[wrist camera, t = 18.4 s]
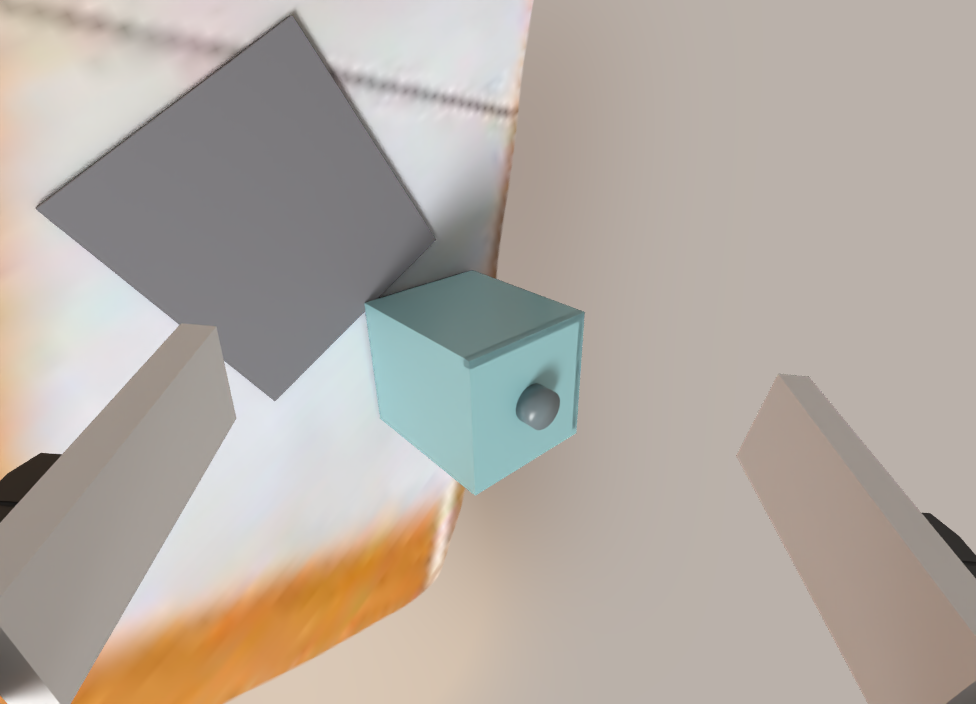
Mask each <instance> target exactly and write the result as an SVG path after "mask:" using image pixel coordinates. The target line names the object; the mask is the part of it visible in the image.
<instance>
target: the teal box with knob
mask: <svg viewBox="0 0 976 704" xmlns="http://www.w3.org/2000/svg"><path fill="white" fill-rule="evenodd" d="M364 304H365V311H366V318H367V325H368V333H369V340H370V347H371V354H372V361H373V369H374V376H375V383H376V390H377V397H378V404H379V412H380V419H382V420H383V421H384V422H385V423H386V424H388V425H389V426H390V427H391V428H393V429H394V430H395V431H396V432H398V433H399V434H400V435H401V436H402V437H404V438H405V439H406V440H407V441H409V442H410V443H411V444H412V445H413V446H415V447H416V448H417V449H418V450H420V451H421V452H422V453H423V454H425V455H426V456H427V457H428V458H429V459H431V460H432V461H433V462H434V463H436V464H437V465H438V466H439V467H441V468H442V469H443V470H444V471H445V472H447V473H448V474H449V475H450V476H452V477H453V478H454V479H455V480H456V481H458V482H459V483H460V484H461V485H463V486H464V487H465V488H466V489H468V490H469V491H470V492H471V493H473V494H474V495H477V494H478V493H480V492H482V491H483V490H485V489H486V488H488V487H490V486H491V485H493V484H495V483H496V482H498V481H500V480H501V479H503V478H504V477H506V476H508V475H509V474H511V473H512V472H514V471H516V470H517V469H519V468H521V467H522V466H524V465H525V464H527V463H529V462H530V461H532V460H533V459H535V458H537V457H538V456H540V455H541V454H543V453H545V452H546V451H548V450H549V449H551V448H553V447H554V446H556V445H558V444H559V443H561V442H562V441H564V440H566V439H567V438H569V437H570V436H572V435H574V434H575V433H576V428H577V414H578V399H579V385H580V371H581V356H582V342H583V328H584V314H585V312H583V311H581V310H578V309H575V308H572V307H570V306H567V305H564V304H562V303H559V302H556V301H554V300H551V299H548V298H546V297H543V296H540V295H538V294H535V293H532V292H529V291H527V290H524V289H522V288H519V287H516V286H513V285H511V284H508V283H505V282H503V281H500V280H497V279H495V278H492V277H489V276H487V275H484V274H481V273H479V272H476V271H473V270H471V271H468V272H465V273H461V274H458V275H455V276H451V277H448V278H445V279H442V280H438V281H435V282H432V283H428V284H425V285H422V286H418V287H415V288H412V289H409V290H405V291H402V292H399V293H395V294H392V295H389V296H385V297H382V298H379V299H376V300H372V301H369V302H366V303H364Z"/></svg>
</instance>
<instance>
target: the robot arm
mask: <svg viewBox="0 0 976 704" xmlns="http://www.w3.org/2000/svg"><path fill="white" fill-rule="evenodd" d="M235 420H236V415H235V410H234V406H233V401H232V397H231V392H230V387H229V383H228V378H227V374H226V369H225V364H224V360H223V355H222V350H221V346H220V341H219V337H218V332H217V327H216V326H207V325H195V324H183V323H181V324H180V325H179V326H178V327H177V329H176V330H175V331H174V332H173V333H172V334H171V335H170V336H169V337H168V338H167V340H166V341H165V342H164V343H163V344H162V345H161V346H160V347H159V348H158V349H157V351H156V352H155V353H154V354H153V355H152V356H151V357H150V358H149V359H148V361H147V362H146V363H145V364H144V365H143V366H142V367H141V368H140V369H139V370H138V372H137V373H136V374H135V375H134V376H133V377H132V378H131V379H130V380H129V381H128V383H127V384H126V385H125V386H124V387H123V388H122V389H121V390H120V391H119V392H118V394H117V395H116V396H115V397H114V398H113V399H112V400H111V401H110V402H109V403H108V405H107V406H106V407H105V408H104V409H103V410H102V411H101V412H100V413H99V414H98V416H97V417H96V418H95V419H94V420H93V421H92V422H91V423H90V424H89V426H88V427H87V428H86V429H85V430H84V431H83V432H82V433H81V434H80V435H79V437H78V438H77V439H76V440H75V441H74V442H73V443H72V444H71V445H70V446H69V448H68V449H67V450H66V451H65V452H64V453H63V454H48V453H40V454H38V455H37V456H35V457H33V458H32V459H30V460H29V461H27V462H25V463H24V464H22V465H21V466H19V467H17V468H16V469H14V470H13V471H11V472H9V473H8V474H7V475H6V476H5V477H4V478H3V479H2V480H1V481H0V695H1V697H2V698H3V699H4V700H5V701H6V702H7V703H8V704H71V702H72V700H73V699H74V697H75V695H76V693H77V692H78V690H79V688H80V687H81V685H82V683H83V681H84V680H85V678H86V676H87V675H88V673H89V671H90V669H91V668H92V666H93V664H94V662H95V661H96V659H97V657H98V656H99V654H100V652H101V650H102V649H103V647H104V645H105V644H106V642H107V640H108V638H109V637H110V635H111V633H112V631H113V630H114V628H115V626H116V625H117V623H118V621H119V619H120V618H121V616H122V614H123V613H124V611H125V609H126V607H127V606H128V604H129V602H130V600H131V599H132V597H133V595H134V594H135V592H136V590H137V588H138V587H139V585H140V583H141V582H142V580H143V578H144V576H145V575H146V573H147V571H148V569H149V568H150V566H151V564H152V563H153V561H154V559H155V557H156V556H157V554H158V552H159V551H160V549H161V547H162V545H163V544H164V542H165V540H166V538H167V537H168V535H169V533H170V532H171V530H172V528H173V526H174V525H175V523H176V521H177V520H178V518H179V516H180V514H181V513H182V511H183V509H184V507H185V506H186V504H187V502H188V501H189V499H190V497H191V495H192V494H193V492H194V490H195V489H196V487H197V485H198V483H199V482H200V480H201V478H202V476H203V475H204V473H205V471H206V470H207V468H208V466H209V464H210V463H211V461H212V459H213V457H214V456H215V454H216V452H217V451H218V449H219V447H220V445H221V444H222V442H223V440H224V439H225V437H226V435H227V433H228V432H229V430H230V428H231V426H232V425H233V423H234V421H235ZM736 456H737V458H738V460H739V462H740V464H741V466H742V468H743V469H744V471H745V473H746V475H747V477H748V479H749V481H750V483H751V485H752V487H753V488H754V490H755V492H756V494H757V496H758V498H759V500H760V502H761V503H762V505H763V507H764V509H765V511H766V513H767V515H768V516H769V519H770V520H771V522H772V524H773V526H774V528H775V530H776V532H777V534H778V535H779V537H780V539H781V541H782V543H783V544H784V547H785V549H786V551H787V552H788V554H789V556H790V558H791V560H792V561H793V564H794V566H795V567H796V569H797V571H798V573H799V575H800V577H801V579H802V581H803V582H804V584H805V586H806V588H807V590H808V592H809V594H810V595H811V597H812V599H813V601H814V603H815V605H816V607H817V609H818V611H819V613H820V614H821V616H822V618H823V620H824V622H825V624H826V626H827V628H828V630H829V631H830V633H831V635H832V637H833V639H834V641H835V643H836V645H837V647H838V648H839V650H840V652H841V654H842V656H843V658H844V660H845V662H846V663H847V665H848V667H849V669H850V671H851V673H852V675H853V676H854V678H855V680H856V682H857V684H858V686H859V688H860V690H861V692H862V694H863V695H864V697H865V699H866V701H867V703H868V704H976V555H975V554H974V553H973V552H972V550H971V549H970V548H969V547H968V546H967V545H966V544H965V542H964V541H963V540H962V539H961V538H960V537H959V536H958V535H957V534H956V533H954V532H953V531H952V530H951V529H949V528H948V527H947V526H946V525H944V524H943V523H942V522H940V521H939V520H938V519H937V518H936V517H934V516H933V515H932V514H930V513H921V512H920V511H919V509H918V508H917V507H916V506H915V505H914V503H913V502H912V501H911V500H910V499H909V497H908V496H907V495H906V494H905V493H904V491H903V490H902V489H901V488H900V486H899V485H898V484H897V483H896V482H895V481H894V479H893V478H892V477H891V475H890V474H889V473H888V472H887V471H886V469H885V468H884V467H883V466H882V465H881V464H880V462H879V461H878V460H877V459H876V457H875V456H874V455H873V454H872V452H871V451H870V450H869V449H868V448H867V446H866V445H865V444H864V443H863V442H862V440H861V439H860V438H859V437H858V436H857V434H856V433H855V432H854V431H853V429H852V428H851V427H850V426H849V425H848V423H847V422H846V421H845V420H844V419H843V417H842V416H841V415H840V414H839V413H838V411H837V410H836V409H835V408H834V406H833V405H832V404H831V403H830V402H829V401H828V399H827V398H826V397H825V396H824V394H823V393H822V392H821V391H820V390H819V388H818V387H817V386H816V385H815V383H814V382H813V381H812V380H811V379H810V377H809V376H797V375H786V374H778V375H777V377H776V379H775V381H774V383H773V385H772V387H771V389H770V391H769V393H768V395H767V396H766V399H765V400H764V403H763V404H762V406H761V408H760V410H759V412H758V414H757V416H756V418H755V420H754V422H753V424H752V426H751V428H750V430H749V432H748V434H747V436H746V438H745V439H744V441H743V443H742V445H741V447H740V449H739V451H738V453H737V455H736Z"/></svg>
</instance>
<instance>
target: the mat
mask: <svg viewBox="0 0 976 704" xmlns="http://www.w3.org/2000/svg"><path fill="white" fill-rule="evenodd" d="M36 210H38V211H39V212H40V213H41V214H43V215H44V216H45V217H46V218H48V219H49V220H50V221H51V222H52V223H54V224H55V225H56V226H57V227H59V228H60V229H61V230H62V231H64V232H65V233H66V234H67V235H69V236H70V237H71V238H72V239H74V240H75V241H76V242H77V243H79V244H80V245H81V246H82V247H84V248H85V249H86V250H87V251H89V252H90V253H91V254H92V255H94V256H95V257H96V258H97V259H99V260H100V261H101V262H102V263H103V264H105V265H106V266H107V267H108V268H110V269H111V270H112V271H113V272H115V273H116V274H117V275H118V276H120V277H121V278H122V279H123V280H125V281H126V282H127V283H128V284H130V285H131V286H132V287H133V288H135V289H136V290H137V291H138V292H140V293H141V294H142V295H143V296H145V297H146V298H147V299H148V300H150V301H151V302H152V303H153V304H155V305H156V306H157V307H158V308H159V309H161V310H162V311H163V312H164V313H166V314H167V315H168V316H169V317H171V318H172V319H173V320H174V321H176V322H177V323H178V324H179V325H180V324H181V323H183V324H195V325H207V326H216V327H217V332H218V337H219V341H220V346H221V350H222V355H223V360H224V361H225V362H227V363H228V364H229V365H230V366H232V367H233V368H234V369H235V370H237V371H238V372H239V373H240V374H242V375H243V376H244V377H245V378H247V379H248V380H249V381H250V382H252V383H253V384H254V385H255V386H257V387H258V388H259V389H260V390H261V391H263V392H264V393H265V394H266V395H268V396H269V397H270V398H271V399H273V400H274V401H276V400H277V399H278V398H279V397H280V396H281V395H282V394H283V393H284V392H285V391H286V390H287V389H288V388H289V387H290V386H291V385H292V384H293V383H294V382H295V381H296V380H297V379H298V378H299V377H300V376H301V375H302V374H303V373H304V372H305V371H306V370H307V369H308V368H309V367H310V366H311V365H312V364H313V363H314V362H315V361H316V360H317V359H318V358H319V357H320V356H321V355H322V354H323V353H324V352H325V351H326V350H327V349H328V348H329V347H330V346H331V345H332V344H333V343H334V342H335V341H336V340H337V339H338V338H339V337H340V336H341V335H342V334H343V333H344V332H345V331H346V330H347V329H348V328H349V327H350V326H351V325H352V324H353V323H354V322H355V321H356V320H357V319H358V318H359V317H360V316H361V315H362V314H363V313H364V312H365V304H364V303H366V302H369V301H372V300H376V299H378V298H379V297H380V296H381V295H382V294H383V293H384V292H385V291H386V290H387V289H388V288H389V287H390V286H391V285H392V284H393V283H394V282H395V281H396V280H397V279H398V278H399V277H400V276H401V275H402V274H403V273H404V272H405V271H406V270H407V269H408V268H409V267H410V266H411V265H412V264H413V263H414V262H415V261H416V260H417V259H418V257H419V256H420V255H421V254H422V253H423V252H424V251H425V250H426V249H427V248H428V247H429V246H430V245H431V244H432V243H433V242H434V241H435V240H436V238H435V237H434V235H433V234H432V232H431V231H430V229H429V228H428V226H427V224H426V223H425V221H424V220H423V218H422V217H421V215H420V213H419V212H418V210H417V209H416V207H415V206H414V204H413V203H412V201H411V199H410V198H409V196H408V195H407V193H406V192H405V190H404V189H403V187H402V185H401V184H400V182H399V181H398V179H397V178H396V176H395V175H394V173H393V171H392V170H391V168H390V167H389V165H388V164H387V162H386V160H385V159H384V157H383V156H382V154H381V153H380V151H379V150H378V148H377V146H376V145H375V143H374V142H373V140H372V139H371V137H370V136H369V134H368V132H367V131H366V129H365V128H364V126H363V125H362V123H361V122H360V120H359V118H358V117H357V115H356V114H355V112H354V111H353V109H352V107H351V106H350V104H349V103H348V101H347V100H346V98H345V97H344V95H343V93H342V92H341V90H340V89H339V87H338V86H337V84H336V83H335V81H334V79H333V78H332V76H331V75H330V73H329V72H328V70H327V69H326V67H325V65H324V64H323V62H322V61H321V59H320V58H319V56H318V55H317V53H316V51H315V50H314V48H313V47H312V45H311V44H310V42H309V40H308V39H307V37H306V36H305V34H304V33H303V31H302V30H301V28H300V26H299V25H298V23H297V22H296V20H295V19H294V17H293V16H292V15H291V16H289V17H287V18H286V19H285V20H283V21H282V22H281V23H280V24H278V25H277V26H276V27H274V28H273V29H272V30H270V31H269V32H268V33H266V34H265V35H264V36H262V37H261V38H260V39H258V40H257V41H256V42H254V43H253V44H252V45H250V46H249V47H248V48H246V49H245V50H244V51H242V52H241V53H240V54H238V55H237V56H236V57H235V58H233V59H232V60H231V61H229V62H228V63H227V64H225V65H224V66H223V67H221V68H220V69H219V70H217V71H216V72H215V73H213V74H212V75H211V76H209V77H208V78H207V79H205V80H204V81H203V82H201V83H200V84H199V85H197V86H196V87H195V88H194V89H192V90H191V91H190V92H188V93H187V94H186V95H184V96H183V97H182V98H180V99H179V100H178V101H176V102H175V103H174V104H172V105H171V106H170V107H168V108H167V109H166V110H164V111H163V112H162V113H160V114H159V115H158V116H156V117H155V118H154V119H152V120H151V121H150V122H149V123H147V124H146V125H145V126H143V127H142V128H141V129H139V130H138V131H137V132H135V133H134V134H133V135H131V136H130V137H129V138H127V139H126V140H125V141H123V142H122V143H121V144H119V145H118V146H117V147H115V148H114V149H113V150H111V151H110V152H109V153H108V154H106V155H105V156H104V157H102V158H101V159H100V160H98V161H97V162H96V163H94V164H93V165H92V166H90V167H89V168H88V169H86V170H85V171H84V172H82V173H81V174H80V175H78V176H77V177H76V178H74V179H73V180H72V181H70V182H69V183H68V184H66V185H65V186H64V187H63V188H61V189H60V190H59V191H57V192H56V193H55V194H53V195H52V196H51V197H49V198H48V199H47V200H45V201H44V202H43V203H41V204H40V205H39V206H37V207H36Z"/></svg>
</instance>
